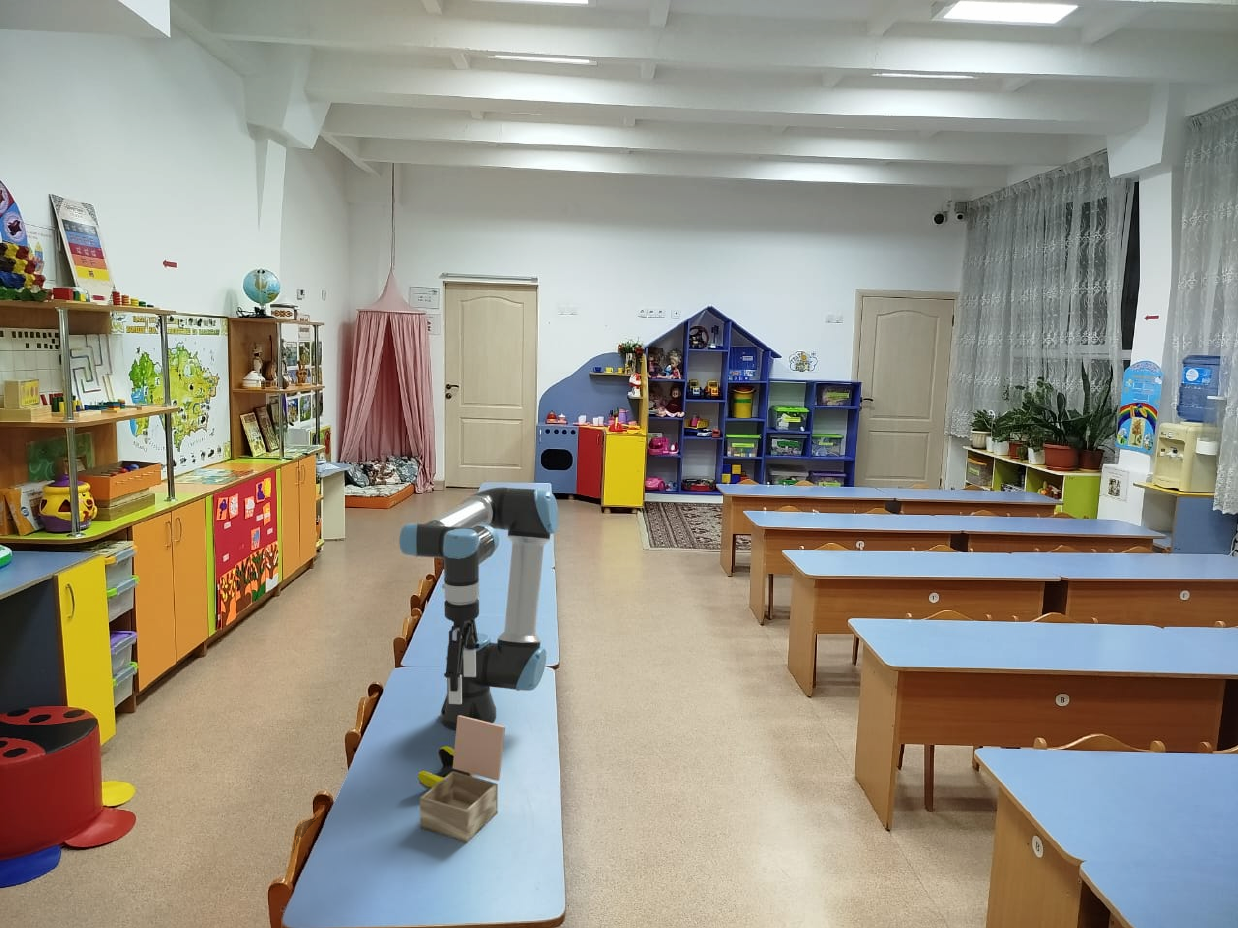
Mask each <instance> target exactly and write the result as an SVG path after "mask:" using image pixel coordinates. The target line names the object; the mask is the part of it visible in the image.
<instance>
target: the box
mask: <svg viewBox="0 0 1238 928" xmlns="http://www.w3.org/2000/svg"><path fill="white" fill-rule="evenodd" d="M498 785H499V784H498V783H495V782H492V781H487V780H485V779H480V778H478V777H474V776H472V777H471V776H467V775H464V774H460V773H457V772H453V771H452V772H451V773H450V774H449V775H447V776H446V777H445V778H444V779H442V780H441V781H440V782H439V783H438V784H436V785H435V786H434V787H433V788H431V789H430V790H429V789H428V791H426V792H425V793H424V794H422V795H421V796H420V798H419V817H420V819H419V820H420V821H419V822H420V823H419V826H420V827H419V828H420V829H424V830H427V831H429V832H433V833H436V834H439V835H442V836H446V837H449V838H452V839H455V840H458V841H461V842H464V843H468V842H470V840H471V839H473V838H474V836H475V835H476V834H478V833H479V832H480V831H481V830H482V829H483V828H484V827H485V826H486V825H487V823H489V822H490V821H491V820H492V819H493V818H494V817H495V816H496V815H497V814H498V805H499V804H498V802H499V800H498V794H499V793H498V792H499V791H498Z"/></svg>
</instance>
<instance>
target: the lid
mask: <svg viewBox="0 0 1238 928" xmlns="http://www.w3.org/2000/svg"><path fill="white" fill-rule="evenodd" d="M505 730H506V726H505V725H500V724H498V723H494V722H493V723H489V722H485V721H481V720H477V719H473V718H469V717H465V716H461V715H459V716H458V717H457V728H456V730H455V739H454V741H455V742H454V759H453V769H457V770H460V771H464V772H468V773H471V774H473V775H476V776H479V777H483V778H486V779H489V780H493V781H496V782H498V781H500V780H501V768H502V767H501V766H502V758H503V751H504V750H503V747H504V737H505V733H506V731H505Z"/></svg>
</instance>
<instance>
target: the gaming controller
mask: <svg viewBox="0 0 1238 928" xmlns="http://www.w3.org/2000/svg"><path fill="white" fill-rule="evenodd" d="M454 749H455V748H454ZM454 749H453V747H450V746H447V745H444V746H442V747H440V748H439V749H438V757H439V760H440V763H441V767H442V768H441V769H440V770H439V772H438V773H437V774H433V773H432V772H429V771H426V770H421V771H419V772H418V774H417V780H418V783H419V785H421V786H422V787H423V788H425V789H427V790H428V791H429V790H430V789H431V788H433V787H434V786H435V785H436V784H438V783H439V782H440V781H441V780H442V779H444V778H445V777H446V776H447V775H449V774H450V773H451V772H452V771H453V772H457V773H460V774H464V775H467V776H471V777H474V776H473V775H474V774H471V773H468V772H464V771H460V770H457V769H453V759H454Z"/></svg>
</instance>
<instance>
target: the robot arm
mask: <svg viewBox="0 0 1238 928" xmlns="http://www.w3.org/2000/svg"><path fill="white" fill-rule="evenodd" d="M558 507H559V506H558V503H557V498H556V497H555V495H554V493H552V492H551V491H548V490H543V489H542V490H541V489H538V488H537V489H531V488H517V487H516V488H512V487H505V486H504V487H502V486H501V487H493V488H488V489H485V490H481V491H479V492H476V493H474V494H471V495H469V496H468V497H465V498H464V499H463V500H462V501H461V503H460V505H458V506H456V507H454V508H452V509H450V510H449V511H447V512H445V513H442V514H441V515H439V516H437V517H435V518H433V519H432V520H429V521H428V522H425V523H418V522H415V523H406V524H405V525H403V526H402V528H401V530H400V533H399V541H398V543H399V544H398V545H399V549H400V551H401V552H402V554H404V555H405V556H414V557H416V558H417V557H418V558H419V557H420V558H422V557H423V558H432V559H433V558H436V559H443V574H444V575H443V576H444V577H443V581H444V583H443V584H442V585H441V588H442V589H443V590H444V617H445V618H446V620H449V621H451V622H452V623H453V625H451V629H450V630H449V632H448V645H447V649H446V657H445V661H446V666H445V672H444V674H443V676H444V677H445V678H446V695H445V698H444V700H443V704H442V707H441V711H440V721H441V724H442V725H443V726H445V727H446V728H448V729H451V730H455V731H456V728H457V717H458V716H459V715H461V716H465V717H469V718H473V719H477V720H481V721H485V722H489V723H493V724H494V722H495V721H496V719H497V707H496V705H495V701H494V699H493V695H492V692H491V688H498V689H506V690H507V689H508V690H515V691H517V692H519V691H520V692H521V691H529V692H530V691H533V690H535V689H536V688H537V687H538V685H539V684H540V682H541V680H542V678H543V675H544V671H545V668H546V662H547V651H546V649H545V648H544V647H543V646H541V641H542V640H541V639H540V637H539V636H538V635H537V624H538V623H537V620H538V611H539V600H540V590H541V578H542V570H543V568H542V567H543V557H544V547H545V545H546V544H547V543H548V542H549V541H550V540H551V535H553V534H555V533H556V532H557V531H558V527H559V509H558ZM497 530H502V531H503V530H505V531H507V538H508V540H510V541H511V545H512V546H511V556H510V567H509V574H508V575H509V577H508V587H507V599H506V608H505V617H504V618H505V619H504V629H503V632H502V633H501V634H500V635H498V636H497V642H491V641H492V640H491V637H490V635H488V634H486V633H479V632H477V625H476V619H477V618H478V617H479V614H480V600H479V598H480V579H479V578H480V577H479V575H480V574H479V573H480V568H479V567H480V566H479V565H481V564H482V563H483V562H484V561H485V560H487V559H488V558H490V557H492V555H493V554H494V552H496V550H498V548H499V544H500V538H499V534H498V532H497Z"/></svg>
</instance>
